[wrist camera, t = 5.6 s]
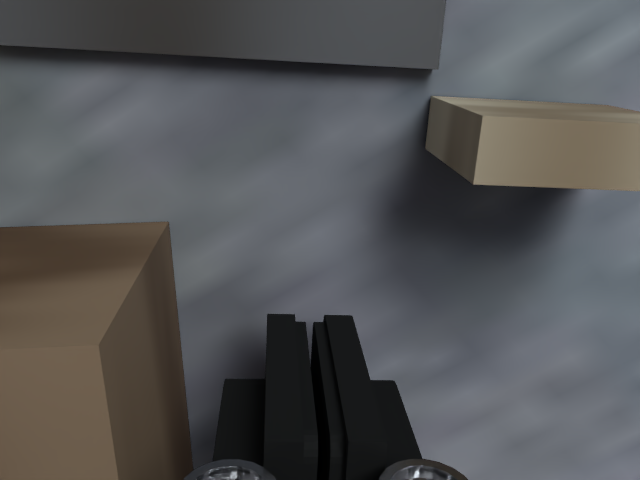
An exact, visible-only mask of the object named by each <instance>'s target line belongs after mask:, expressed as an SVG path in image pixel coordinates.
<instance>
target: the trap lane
mask: <svg viewBox="0 0 640 480" xmlns="http://www.w3.org/2000/svg"><path fill="white" fill-rule="evenodd" d="M445 6H446V0H0V45H9V46H27V47H45V48H63V49H80V50H98V51H116V52H134V53H152V54H170V55H188V56H206V57H224V58H242V59H259V60H277V61H295V62H313V63H331V64H349V65H367V66H385V67H403V68H421V69H438V68H439V59H440V50H441V41H442V33H443V24H444V15H445ZM425 149H426V150H428V151H429V152H430V153H432V154H433V155H434V156H436V157H437V158H438V159H440V160H441V161H442V162H444V163H445V164H446V165H448V166H449V167H450V168H452V169H453V170H455V171H456V172H457V173H459V174H460V175H461V176H463V177H464V178H465V179H467V180H468V181H469V182H471V183H472V184H473V185H498V186H524V187H549V188H574V189H600V190H625V191H640V112H638V111H633V110H628V109H624V108H619V107H614V106H609V105H593V104H574V103H555V102H536V101H517V100H497V99H478V98H459V97H440V96H431V102H430V111H429V120H428V128H427V137H426V146H425Z"/></svg>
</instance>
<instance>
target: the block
mask: <svg viewBox="0 0 640 480" xmlns="http://www.w3.org/2000/svg"><path fill="white" fill-rule="evenodd" d="M192 471H193V462H192V452H191V442H190V432H189V422H188V412H187V402H186V391H185V381H184V371H183V361H182V351H181V341H180V331H179V321H178V311H177V301H176V291H175V281H174V270H173V260H172V250H171V240H170V230H169V222H146V223H117V224H88V225H59V226H29V227H0V480H183V479H184V478H185V477H186V476H187V475H188V474H190V473H191V472H192Z"/></svg>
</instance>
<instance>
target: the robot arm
mask: <svg viewBox="0 0 640 480" xmlns="http://www.w3.org/2000/svg"><path fill="white" fill-rule="evenodd" d="M183 480H468V479H467V478H466V477H465V476H464V475H462V474H461V473H460V472H458V471H457V470H455V469H454V468H452V467H449V466H447V465H445V464H442V463H440V462H436V461H431V460H426V459H422V456H421V453H420V451H419V448H418V445H417V442H416V439H415V436H414V433H413V431H412V428H411V425H410V422H409V419H408V416H407V413H406V411H405V408H404V405H403V402H402V399H401V396H400V394H399V391H398V388H397V385H396V383H395V381H392V380H370V377H369V373H368V370H367V366H366V363H365V359H364V356H363V352H362V348H361V345H360V341H359V338H358V334H357V331H356V327H355V323H354V320H353V317H352V316H349V315H324V320H323V322H314V323H313V335H312V352H311V367H310V358H309V349H308V340H307V331H306V322H295V314H267V343H266V376H265V379H225V381H224V387H223V393H222V400H221V407H220V414H219V421H218V428H217V435H216V442H215V449H214V456H213V462H209V463H207V464H205V465H203V466H200V467H198V468H196V469H195V470H193V471H192V472H191V473H190V474H188V475H187V476H186V477H185V478H184V479H183Z"/></svg>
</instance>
